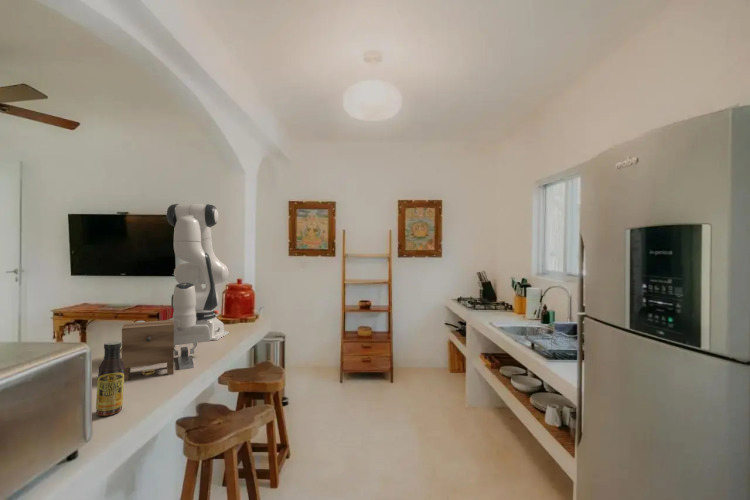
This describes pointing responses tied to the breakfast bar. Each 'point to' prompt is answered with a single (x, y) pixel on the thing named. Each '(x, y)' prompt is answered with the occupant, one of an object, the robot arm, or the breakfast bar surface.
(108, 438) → the breakfast bar surface
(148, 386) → the breakfast bar surface
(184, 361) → the scraper
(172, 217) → the robot arm
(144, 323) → the walnut cabinet
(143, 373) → the brass disc
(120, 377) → the sauce bottle
